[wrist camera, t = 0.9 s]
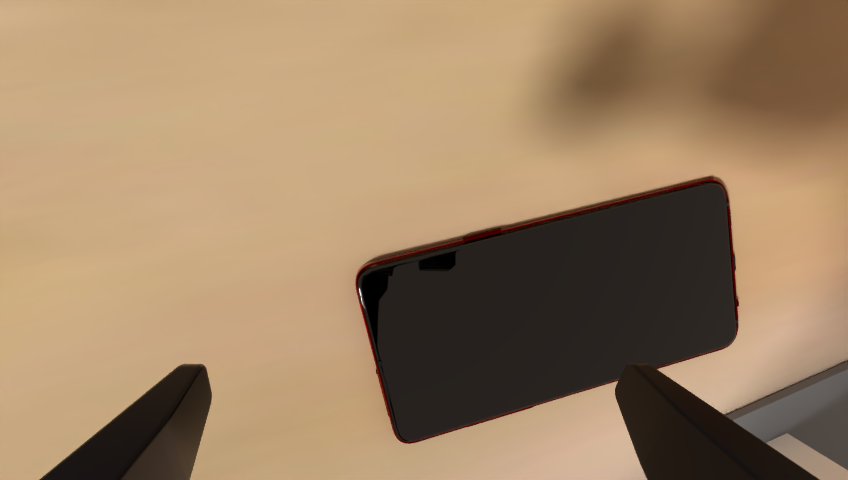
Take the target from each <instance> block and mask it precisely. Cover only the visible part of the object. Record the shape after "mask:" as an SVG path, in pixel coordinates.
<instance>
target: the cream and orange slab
mask: <svg viewBox="0 0 848 480" xmlns="http://www.w3.org/2000/svg"><path fill="white" fill-rule="evenodd" d="M767 444H768V445H769V446H771V447H772V448H774V449H775V450H777V451H778V452H780V453H781V454H783V455H784V456H786V457H787V458H789V459H790V460H792V461H793V462H795V463H796V464H798V465H799V466H801V467H802V468H804V469H805V470H807V471H808V472H810V473H811V474H812V475H814V476H815V477H817V478H818V479H820V480H848V470H846V469H845V468H843V467H841V466H840V465H838V464H837V463H835V462H833V461H832V460H830V459H828V458H827V457H825V456H824V455H822V454H820V453H819V452H817V451H815V450H814V449H812V448H810V447H809V446H807V445H806V444H804V443H802V442H801V441H799V440H797V439H796V438H794V437H793V436H791V435H789V434H788V433H786V434H784V435H782V436H780V437H778V438H775V439H773V440H771V441H769V442H767Z"/></svg>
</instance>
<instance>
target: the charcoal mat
mask: <svg viewBox="0 0 848 480" xmlns="http://www.w3.org/2000/svg"><path fill="white" fill-rule="evenodd" d="M725 416H727V417H728V418H729V419H731V420H732V421H734V422H735V423H737V424H738V425H740V426H741V427H743V428H744V429H746V430H747V431H749V432H750V433H752V434H753V435H755V436H756V437H758V438H759V439H761V440H762V441H764V442H765V443H767V442H769V441H771V440H773V439H775V438H778V437H780V436H782V435H784V434H786V433H788V434H789V435H791V436H793V437H794V438H796V439H797V440H799V441H801V442H802V443H804V444H806V445H807V446H809V447H810V448H812V449H814V450H815V451H817V452H819V453H820V454H822V455H824V456H825V457H827V458H828V459H830V460H832V461H833V462H835V463H837V464H838V465H840V466H841V467H843V468H845V469H846V470H848V361H847V362H845V363H842V364H840V365H838V366H836V367H833V368H831V369H829V370H827V371H824V372H822V373H820V374H818V375H815V376H813V377H811V378H809V379H806V380H804V381H802V382H800V383H797V384H795V385H793V386H791V387H788V388H786V389H784V390H782V391H779V392H777V393H775V394H773V395H770V396H768V397H766V398H764V399H761V400H759V401H757V402H755V403H752V404H750V405H748V406H746V407H743V408H741V409H739V410H737V411H734V412H732V413H730V414H728V415H725Z"/></svg>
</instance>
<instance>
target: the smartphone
mask: <svg viewBox="0 0 848 480" xmlns="http://www.w3.org/2000/svg"><path fill="white" fill-rule="evenodd" d="M707 181H710V182H712V183H703V182H707ZM699 183H701V184H699ZM695 184H697V185H695ZM691 185H693V186H691ZM687 186H688V187H687ZM683 187H684V188H683ZM679 188H680V189H679ZM675 189H676V190H675ZM671 190H672V191H671ZM665 191H668V192H665ZM661 192H664V193H661ZM657 193H660V194H657ZM653 194H656V195H653ZM649 195H652V196H649ZM645 196H648V197H645ZM641 197H644V198H641ZM636 198H640V199H636ZM632 199H636V200H632ZM628 200H632V201H628ZM624 201H628V202H624ZM620 202H624V203H620ZM616 203H619V204H616ZM612 204H615V205H612ZM608 205H611V206H608ZM604 206H607V207H604ZM600 207H603V208H600ZM596 208H599V209H596ZM592 209H595V210H592ZM588 210H591V211H588ZM584 211H587V212H584ZM580 212H583V213H580ZM576 213H579V214H576ZM572 214H575V215H572ZM730 214H731V213H730V208H729V199H728V195H727V192H726V190H725V188H724V186H723V185H722V184H721V183H720V182H718V181H716V180H714V179H713V177H709V178H705V179H701V180H697V181H693V182H689V183H685V184H681V185H677V186H673V187H669V188H665V189H661V190H657V191H653V192H649V193H645V194H641V195H637V196H633V197H629V198H625V199H621V200H617V201H613V202H608V203H604V204H600V205H596V206H592V207H588V208H584V209H580V210H576V211H572V212H568V213H564V214H560V215H556V216H552V217H548V218H544V219H540V220H536V221H532V222H528V223H524V224H520V225H516V226H512V227H508V228H504V229H501V228H498V229H494V230H490V231H486V232H482V233H478V234H474V235H470V236H466V237H463V239H459V240H455V241H451V242H447V243H443V244H439V245H435V246H431V247H427V248H423V249H419V250H415V251H411V252H407V253H403V254H399V255H395V256H391V257H386V258H382V259H378V260H374V261H371V262H368V263H366V264H364V265H363V266H362V267H361V268H360V269H359V270H358V272H357V274H356V291H357V295H358V299H359V303H360V307H361V311H362V315H363V318H364V322H365V326H366V330H367V334H368V337H369V341H370V345H371V349H372V353H373V356H374V360H375V364H376V373H377V374H378V378H379V382H380V386H381V390H382V393H383V397H384V401H385V405H386V409H387V412H388V416H389V417H390V421H391V425H392V428H393V432H394V434H395V436H396V438H397V439H398V440H399V441H401V442H403V443H408V444H410V443H416V442H419V441H423V440H426V439H429V438H432V437H436V436H439V435H442V434H445V433H449V432H452V431H455V430H458V429H462V428H465V427H470V426H473V425H476V424H479V423H483V422H486V421H489V420H493V419H496V418H499V417H502V416H506V415H509V414H512V413H516V412H519V411H522V410H525V409H529V408H532V407H534V406H536V405H540V404H543V403H546V402H550V401H553V400H556V399H559V398H563V397H566V396H569V395H572V394H576V393H579V392H582V391H586V390H589V389H592V388H596V387H599V386H602V385H605V384H609V383H612V382H615V381H619V379H620V377H621V375H622V373H623V371H624V369H625V367H626V366H627V365H628V364H629V363H647V364H649V365H651V366H652V367H654V368H655V369H659V368H662V367H665V366H669V365H672V364H675V363H679V362H682V361H685V360H689V359H692V358H695V357H699V356H702V355H705V354H709V353H712V352H715V351H719V350H722V349H724V348H726V347H728V346H729V345H731V344H732V342H733V341H734V340H735V338H736V335H737V332H738V311H737V307H738V306H739V302H738V300H737V298H736V284H735V270H736V266H735V255H734V254H733V245H732V232H731V218H730V217H731V215H730ZM568 215H571V216H568ZM564 216H567V217H564ZM560 217H563V218H560ZM556 218H559V219H556ZM552 219H555V220H552ZM548 220H551V221H548ZM544 221H547V222H544ZM540 222H542V223H540ZM536 223H538V224H536ZM532 224H534V225H532ZM528 225H530V226H528ZM524 226H526V227H524ZM520 227H522V228H520ZM516 228H518V229H516ZM512 229H514V230H512ZM508 230H510V231H508ZM504 231H506V232H504ZM501 232H502V233H501ZM460 242H461V243H460ZM456 243H457V244H456ZM452 244H453V245H452ZM448 245H449V246H448ZM444 246H445V247H444ZM440 247H441V248H440ZM436 248H437V249H436ZM432 249H433V250H432ZM428 250H429V251H428ZM424 251H425V252H424ZM420 252H421V253H420ZM416 253H417V254H416ZM412 254H413V255H412ZM408 255H409V256H408ZM404 256H405V257H404ZM400 257H401V258H400ZM396 258H397V259H396ZM392 259H393V260H392ZM388 260H389V261H388ZM384 261H385V262H384ZM380 262H381V263H380Z"/></svg>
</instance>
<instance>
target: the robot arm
mask: <svg viewBox="0 0 848 480" xmlns="http://www.w3.org/2000/svg"><path fill="white" fill-rule="evenodd" d="M615 395H616V400H617V402H618V405H619V408H620V411H621V413H622V416H623V419H624V421H625V424H626V427H627V430H628V432H629V435H630V438H631V440H632V443H633V446H634V449H635V451H636V454H637V457H638V459H639V462H640V464H641V466H642V469H643V471H644V473H645V475H646V478H647V480H820V479H818V478H817V477H815V476H814V475H812V474H811V473H810V472H808V471H807V470H805V469H804V468H802V467H801V466H799V465H798V464H796V463H795V462H793V461H792V460H790V459H789V458H787V457H786V456H784V455H783V454H781V453H780V452H778V451H777V450H775V449H774V448H772V447H771V446H769V445H768V444H767V443H765V442H764V441H762V440H761V439H759V438H758V437H756V436H755V435H753V434H752V433H750V432H749V431H747V430H746V429H744V428H743V427H741V426H740V425H738V424H737V423H735V422H734V421H732V420H731V419H729V418H728V417H727V416H725V415H724V414H722V413H721V412H719V411H718V410H716V409H715V408H713V407H712V406H710V405H709V404H707V403H706V402H704V401H703V400H701V399H700V398H698V397H697V396H695V395H694V394H692V393H691V392H689V391H688V390H687V389H685V388H684V387H682V386H681V385H679V384H678V383H676V382H675V381H673V380H672V379H670V378H669V377H667V376H666V375H664V374H663V373H661V372H660V371H658V370H657V369H655V368H654V367H652V366H651V365H649V364H647V363H629V364H628V365H627V366H626V367H625V369H624V371H623V373H622V375H621V377H620V379H619V381H618V383H617V385H616V388H615ZM211 399H212V392H211V387H210V383H209V378H208V374H207V369H206V367H205V366H204V365H203V364H182V365H180V366H178V367H177V368H176V369H174V370H173V371H172V372H171V373H169V374H168V375H167V376H166V377H164V378H163V379H162V380H161V381H160V382H158V383H157V384H156V385H155V386H153V387H152V388H151V389H150V390H149V391H147V392H146V393H145V394H144V395H142V396H141V397H140V398H139V399H138V400H136V401H135V402H134V403H133V404H131V405H130V406H129V407H128V408H127V409H125V410H124V411H123V412H122V413H120V414H119V415H118V416H117V417H115V418H114V419H113V420H112V421H111V422H109V423H108V424H107V425H106V426H104V427H103V428H102V429H101V430H100V431H98V432H97V433H96V434H95V435H93V436H92V437H91V438H90V439H89V440H87V441H86V442H85V443H84V444H82V445H81V446H80V447H79V448H77V449H76V450H75V451H74V452H73V453H71V454H70V455H69V456H68V457H66V458H65V459H64V460H63V461H62V462H60V463H59V464H58V465H57V466H55V467H54V468H53V469H52V470H51V471H49V472H48V473H47V474H46V475H44V476H43V477H42V478H41V479H40V480H190V477H191V473H192V470H193V466H194V463H195V459H196V455H197V452H198V448H199V445H200V441H201V437H202V434H203V430H204V427H205V423H206V419H207V416H208V412H209V409H210V405H211Z"/></svg>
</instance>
